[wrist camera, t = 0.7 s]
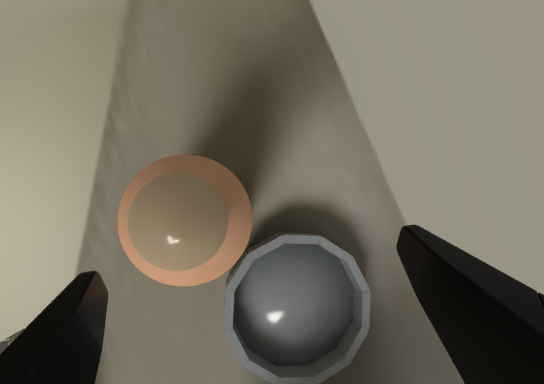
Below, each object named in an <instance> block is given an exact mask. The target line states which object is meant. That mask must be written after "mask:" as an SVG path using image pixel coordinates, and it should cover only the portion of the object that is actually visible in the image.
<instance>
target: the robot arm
mask: <svg viewBox="0 0 544 384" xmlns="http://www.w3.org/2000/svg"><path fill="white" fill-rule="evenodd" d="M397 252H398V255H399V257H400V259H401V262H402V264H403V266H404V269H405V271H406V273H407V276H408V278H409V280H410V283H411V285H412V288H413V290H414V292H415V294H416V296H417V298H418V300H419V302H420V304H421V305H422V307H423V309H424V311H425V313H426V314H427V316H428V318H429V320H430V322H431V323H432V325H433V327H434V329H435V331H436V332H437V334H438V336H439V338H440V340H441V341H442V343H443V345H444V347H445V349H446V350H447V352H448V354H449V356H450V358H451V359H452V361H453V363H454V365H455V366H456V368H457V370H458V372H459V374H460V375H461V377H462V379H463V381H464V383H465V384H544V295H543V294H541V293H537V291H536V290H534V289H532V288H530V287H528V286H526V285H525V284H523V283H521V282H519V281H517V280H515V279H514V278H512V277H510V276H508V275H507V274H505V273H503V272H501V271H499V270H497V269H495V268H494V267H492V266H490V265H488V264H486V263H485V262H483V261H481V260H479V259H478V258H476V257H474V256H472V255H470V254H468V253H467V252H465V251H463V250H461V249H459V248H458V247H455V246H454V245H452V244H450V243H448V242H447V241H445V240H443V239H441V238H439V237H438V236H436V235H434V234H432V233H430V232H429V231H427V230H425V229H423V228H421V227H420V226H417V225H408V226H403V227H402V228H401V231H400V235H399V238H398V242H397ZM107 302H108V291H107V288H106V286H105V284H104V282H103V280H102V278H101V276H100V274H99V273H98V272H97V271H89V272H83V273H80V274H79V275H78V276H77V277H76V278H75V279H74V280H73V281H72V282H71V283H70V284H69V285H68V286H67V287H66V288H65V289H64V290H63V291H62V292H61V293H60V294H59V295H58V296H57V297H56V298H55V299H54V300H53V301H52V302H51V303H50V304H49V305H48V306H47V307H46V308H45V309H44V310H43V311H42V312H41V313H40V314H39V315H38V316H37V317H36V318H35V319H34V320H33V321H32V322H31V323H30V324H29V325H28V326H27V327H26V328H25V329H24V330H23V331H22V332H21V333H20V334H19V335H18V336H17V337H16V338H15V339H14V340H13V341H12V342H11V343H10V344H9V345H8V346H7V347H6V348H5V349H4V350H3V351H2V352H1V353H0V384H95V379H96V375H97V371H98V366H99V362H100V357H101V352H102V346H103V338H104V329H105V320H106V311H107Z"/></svg>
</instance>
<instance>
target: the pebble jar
mask: <svg viewBox="0 0 544 384" xmlns="http://www.w3.org/2000/svg"><path fill="white" fill-rule="evenodd" d="M251 230H252V209H251V204H250V200H249V197H248V195H247V193H246V190H245V188H244V187H243V185H242V184H241V182H240V181H239V180H238V178H237V177H236V176H235V175H234V174H233V173H232V172H231V171H230V170H229V169H227V168H226V167H225V166H223V165H222V164H220V163H218V162H216V161H214V160H212V159H209V158H206V157H203V156H198V155H174V156H170V157H166V158H163V159H160V160H158V161H156V162H154V163H152V164H150V165H148V166H147V167H146V168H144V169H143V170H142V171H141V172H139V173H138V174H137V175H136V176H135V177H134V179H133V180H132V181H131V182H130V184H129V185H128V187H127V189H126V190H125V192H124V194H123V197H122V199H121V202H120V206H119V210H118V233H119V237H120V241H121V244H122V246H123V249H124V251H125V253H126V254H127V256H128V257H129V259H130V260H131V261H132V263H133V264H134V265H135V266H136V267H137V268H138V269H139V270H140V271H141V272H143V273H144V274H146V275H147V276H148V277H150V278H152V279H154V280H156V281H159V282H161V283H164V284H168V285H173V286H194V285H200V284H203V283H206V282H209V281H211V280H214V279H216V278H218V277H219V276H221V275H222V274H224V273H225V272H226V271H228V270H229V269H230V268H231V267H232V266H233V265H234V264H235V263H236V262H237V261H238V259H239V258H240V257H241V255H242V254H243V252H244V250H245V248H246V246H247V244H248V241H249V238H250V234H251Z"/></svg>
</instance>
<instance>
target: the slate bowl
mask: <svg viewBox="0 0 544 384" xmlns="http://www.w3.org/2000/svg"><path fill="white" fill-rule="evenodd" d="M370 295H371V291H370V288H369V286H368V285H367V283H366V281H365V279H364V277H363V275H362V273H361V271H360V269H359V267H358V265H357V263H356V261H355V259H354V257H352V255H350V254H349V253H347V252H345V251H344V250H342V249H341V248H339V247H338V246H336V245H335V244H333V243H331V242H330V241H328V240H327V239H325V238H324V237H322V236H319V235H316V234H313V233H288V232H278V233H275V234H273V235H272V236H270V237H268V238H266V239H264V240H262V241H260V242H259V243H257V244H255V245H253V246H251V247H249V248H247V250H245V252H244V253H243V255H242V256H241V258H240V260H239V261H238V263H237V264H236V266H235V268H234V269H233V271H232V272H231V274H230V276H229V277H228V279H227V281H226V294H225V314H224V332H225V334H226V336H227V338H228V340H229V342H230V343H231V345H232V347H233V349H234V351H235V353H236V355H237V357H238V359H239V361H240V363H241V365H242V366H243V367H244V368H246V369H248V370H249V371H251V372H253V373H254V374H256V375H258V376H259V377H261V378H263V379H264V380H266V381H268V382H270V383H271V384H320V383H321V382H323V381H325V380H326V379H328V378H329V377H331V376H333V375H334V374H336V373H337V372H339V371H341V370H342V369H344V368H345V367H347V366H349V364H351V362H352V360H353V358H354V357H355V355H356V353H357V351H358V350H359V348H360V346H361V344H362V342H363V341H364V339H365V337H366V335H367V334H368V332H369V330H368V329H370Z"/></svg>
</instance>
